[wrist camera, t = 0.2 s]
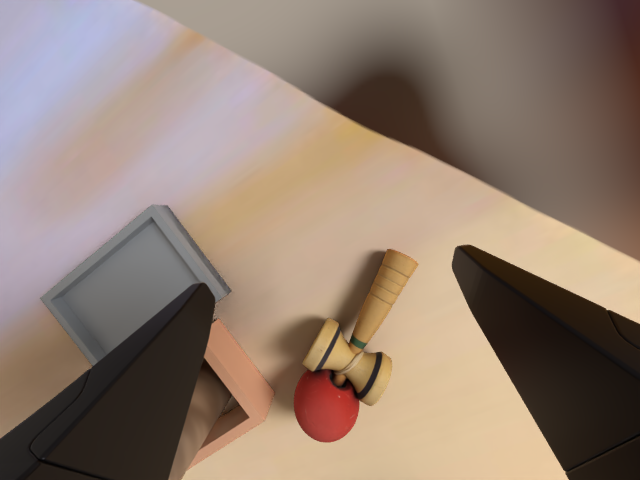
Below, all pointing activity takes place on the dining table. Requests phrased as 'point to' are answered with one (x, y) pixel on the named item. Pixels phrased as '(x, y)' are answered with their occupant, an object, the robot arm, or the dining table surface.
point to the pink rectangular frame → (234, 391)
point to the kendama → (349, 360)
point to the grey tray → (130, 282)
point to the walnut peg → (200, 418)
